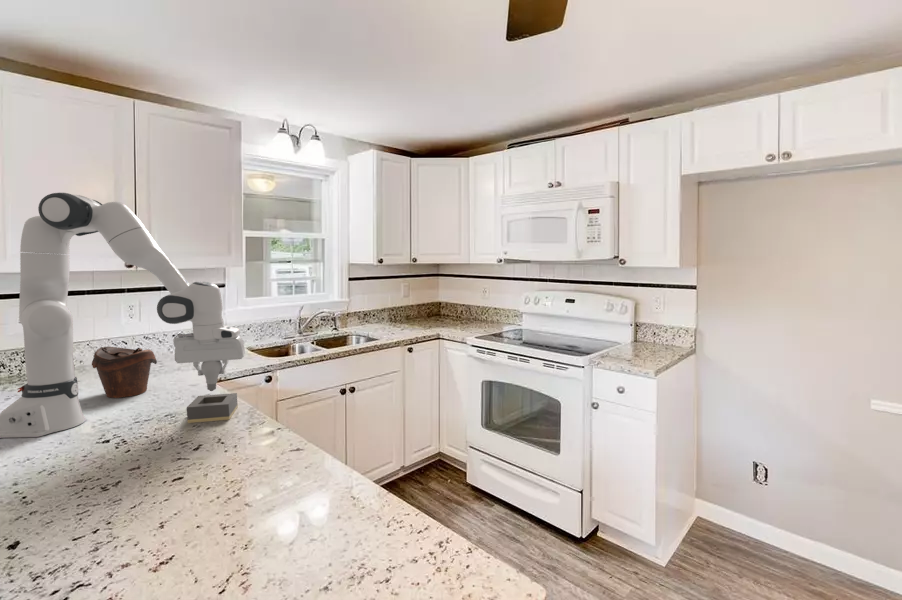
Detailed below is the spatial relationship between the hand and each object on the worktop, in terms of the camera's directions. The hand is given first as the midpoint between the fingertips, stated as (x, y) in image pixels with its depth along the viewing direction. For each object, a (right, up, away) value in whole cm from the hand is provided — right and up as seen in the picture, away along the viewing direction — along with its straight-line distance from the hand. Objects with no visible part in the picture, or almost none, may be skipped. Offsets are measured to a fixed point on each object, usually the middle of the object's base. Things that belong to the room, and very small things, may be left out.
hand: (212, 374), depth 149 cm
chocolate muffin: (-46, -12, +26) cm, 54 cm away
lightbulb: (0, -6, +1) cm, 6 cm away
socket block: (0, -13, +1) cm, 13 cm away
